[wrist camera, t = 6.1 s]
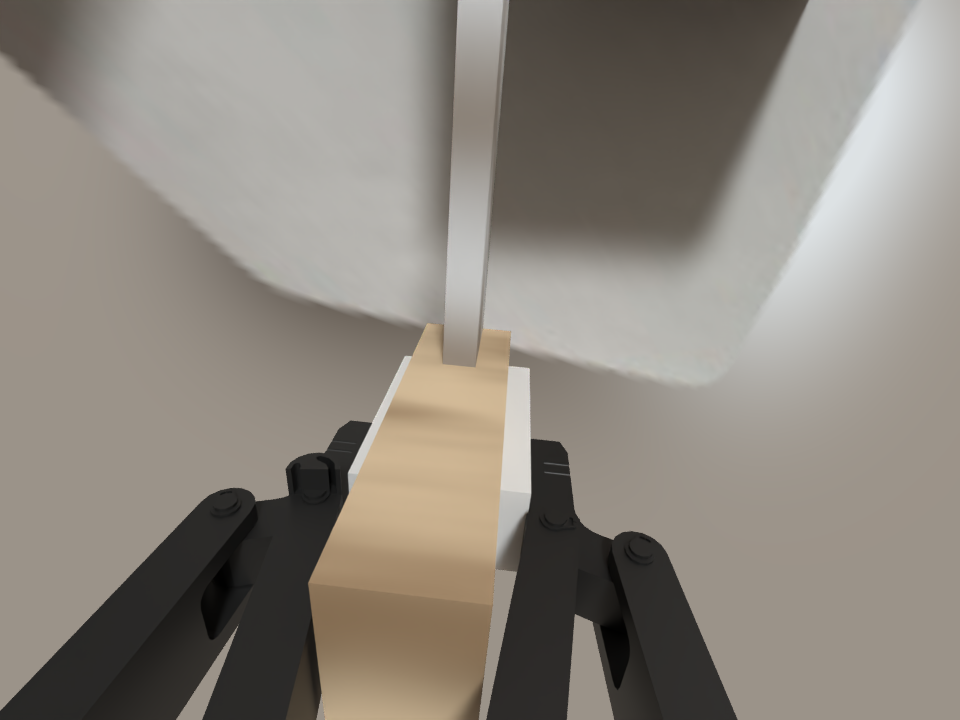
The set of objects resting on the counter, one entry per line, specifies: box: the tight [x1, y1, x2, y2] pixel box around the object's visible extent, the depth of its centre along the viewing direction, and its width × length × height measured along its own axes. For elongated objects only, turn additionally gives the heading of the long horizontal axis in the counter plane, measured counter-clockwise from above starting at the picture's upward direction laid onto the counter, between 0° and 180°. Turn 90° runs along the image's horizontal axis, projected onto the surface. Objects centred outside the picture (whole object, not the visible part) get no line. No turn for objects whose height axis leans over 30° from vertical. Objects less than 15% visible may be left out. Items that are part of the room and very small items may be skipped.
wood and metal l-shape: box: [308, 0, 511, 720], centre depth 11 cm, size 18×3×11 cm, turn 176°
